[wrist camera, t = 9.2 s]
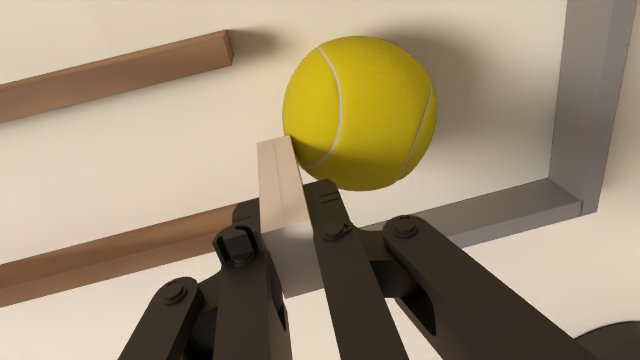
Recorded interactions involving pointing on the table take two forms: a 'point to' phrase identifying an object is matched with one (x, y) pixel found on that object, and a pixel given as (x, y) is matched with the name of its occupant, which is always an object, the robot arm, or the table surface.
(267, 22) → the table surface
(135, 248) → the chute
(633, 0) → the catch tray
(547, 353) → the robot arm
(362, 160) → the tennis ball
